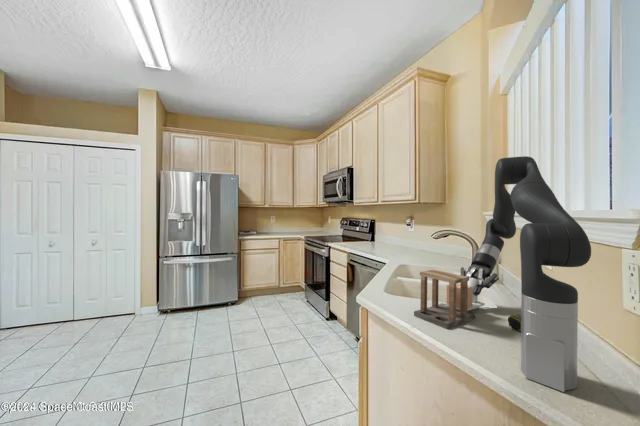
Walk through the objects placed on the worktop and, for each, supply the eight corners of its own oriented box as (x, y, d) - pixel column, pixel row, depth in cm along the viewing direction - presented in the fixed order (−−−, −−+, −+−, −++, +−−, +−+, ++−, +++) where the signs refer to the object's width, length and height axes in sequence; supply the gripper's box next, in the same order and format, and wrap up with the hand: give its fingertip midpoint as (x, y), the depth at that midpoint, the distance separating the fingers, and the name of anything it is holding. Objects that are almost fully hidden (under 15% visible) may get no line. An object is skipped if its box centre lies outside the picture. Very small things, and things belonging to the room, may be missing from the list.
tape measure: (541, 333, 78) (542, 321, 78) (525, 336, 76) (525, 323, 76) (518, 324, 84) (518, 312, 84) (502, 326, 82) (502, 314, 82)
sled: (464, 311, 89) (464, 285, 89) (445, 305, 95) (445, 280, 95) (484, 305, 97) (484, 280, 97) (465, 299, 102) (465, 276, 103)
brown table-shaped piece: (448, 329, 79) (448, 281, 79) (412, 315, 90) (413, 272, 91) (476, 318, 88) (477, 275, 88) (441, 306, 99) (441, 268, 99)
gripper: (464, 249, 109) (447, 282, 102) (503, 254, 97) (486, 291, 90) (471, 261, 111) (454, 294, 105) (509, 267, 99) (493, 304, 93)
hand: (469, 292), depth 97 cm, fingers closed on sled, 3 cm apart
